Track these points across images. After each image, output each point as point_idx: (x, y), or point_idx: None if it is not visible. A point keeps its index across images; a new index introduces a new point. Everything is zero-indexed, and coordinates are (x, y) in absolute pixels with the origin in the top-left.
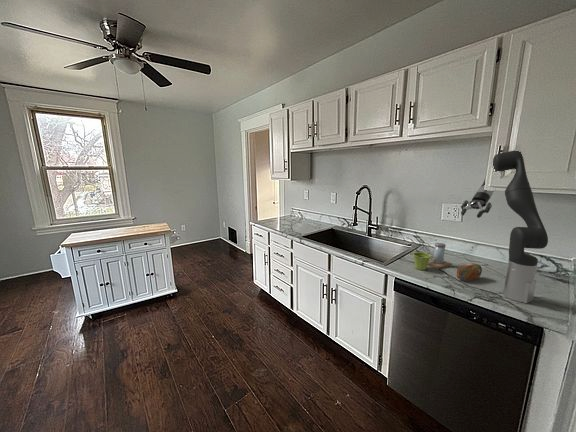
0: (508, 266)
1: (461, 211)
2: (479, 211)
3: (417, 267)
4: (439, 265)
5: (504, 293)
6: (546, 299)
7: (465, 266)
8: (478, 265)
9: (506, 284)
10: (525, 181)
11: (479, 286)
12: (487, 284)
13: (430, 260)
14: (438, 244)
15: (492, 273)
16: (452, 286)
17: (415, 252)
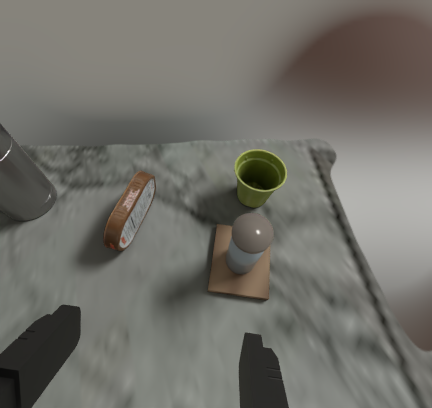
0: (9, 135)
1: (279, 371)
2: (26, 359)
3: (252, 179)
4: (225, 237)
5: (52, 185)
6: None
7: (133, 176)
8: (108, 227)
9: (38, 168)
10: None
11: (106, 197)
12: (91, 222)
13: (266, 258)
14: (255, 222)
15: (87, 327)
16: (152, 156)
17: (286, 175)
